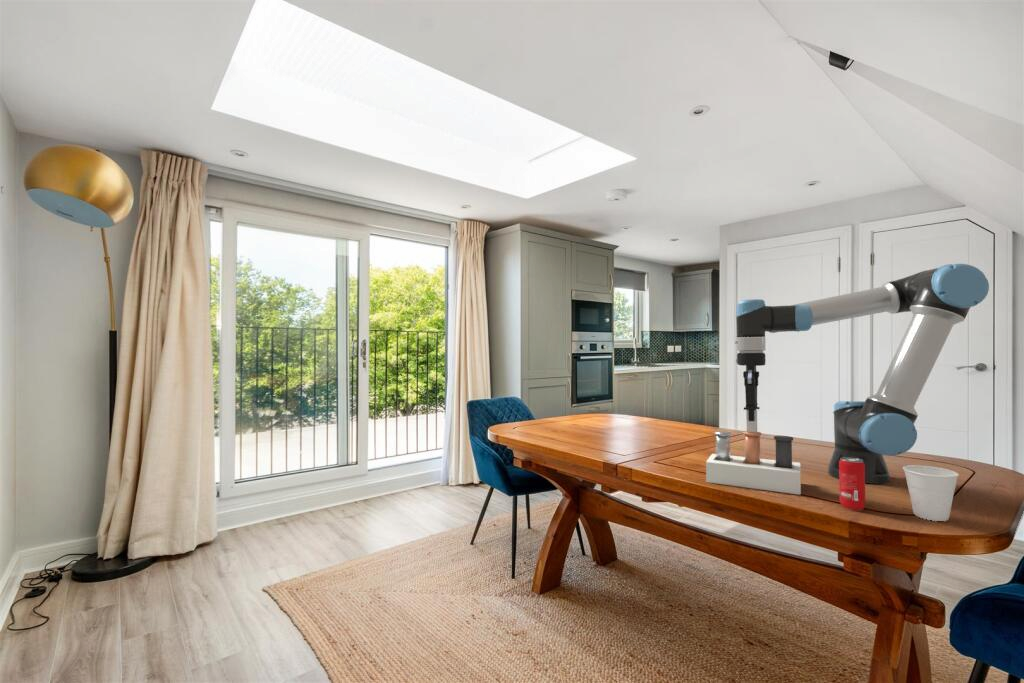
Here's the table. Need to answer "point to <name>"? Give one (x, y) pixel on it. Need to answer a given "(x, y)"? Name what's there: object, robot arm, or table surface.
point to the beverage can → (852, 483)
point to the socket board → (754, 474)
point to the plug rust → (752, 447)
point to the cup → (931, 491)
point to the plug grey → (723, 445)
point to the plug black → (783, 451)
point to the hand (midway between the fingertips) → (752, 431)
